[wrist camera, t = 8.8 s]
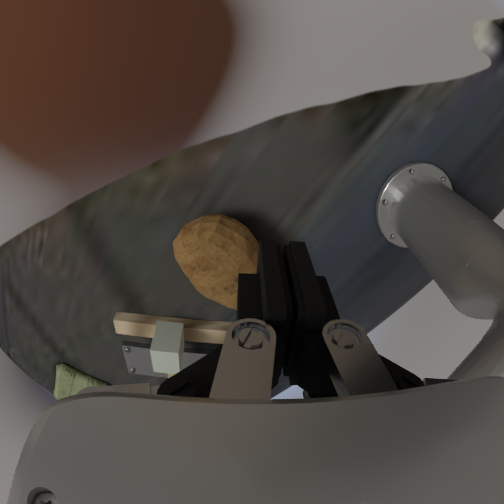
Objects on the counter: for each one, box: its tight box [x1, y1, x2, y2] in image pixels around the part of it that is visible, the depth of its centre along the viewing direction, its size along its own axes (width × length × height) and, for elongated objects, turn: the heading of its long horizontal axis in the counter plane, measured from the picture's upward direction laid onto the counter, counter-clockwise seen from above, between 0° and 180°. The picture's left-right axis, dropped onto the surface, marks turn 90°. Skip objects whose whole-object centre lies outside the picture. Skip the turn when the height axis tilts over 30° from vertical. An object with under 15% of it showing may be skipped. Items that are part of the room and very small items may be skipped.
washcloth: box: [54, 363, 108, 400], centre depth 59 cm, size 13×18×3 cm
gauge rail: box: [113, 312, 234, 344], centre depth 48 cm, size 25×12×8 cm, turn 84°
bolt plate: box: [122, 341, 213, 378], centre depth 53 cm, size 25×8×2 cm, turn 84°
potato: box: [173, 214, 259, 310], centre depth 38 cm, size 10×14×8 cm
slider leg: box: [150, 321, 184, 378], centre depth 46 cm, size 4×12×6 cm, turn 174°
